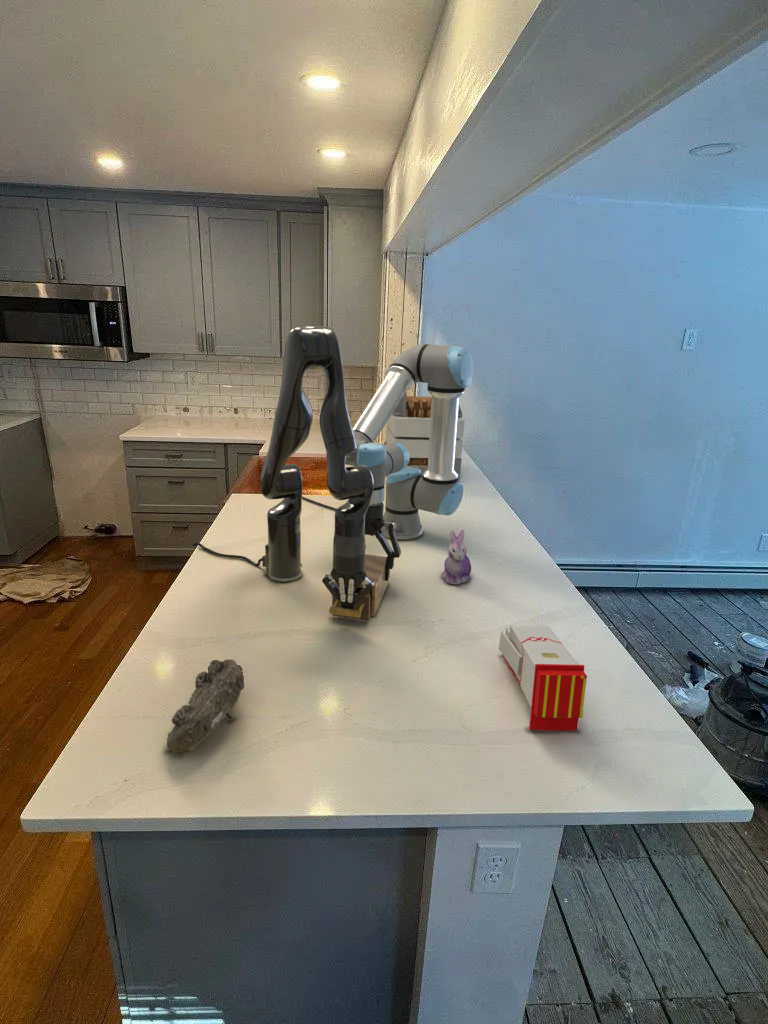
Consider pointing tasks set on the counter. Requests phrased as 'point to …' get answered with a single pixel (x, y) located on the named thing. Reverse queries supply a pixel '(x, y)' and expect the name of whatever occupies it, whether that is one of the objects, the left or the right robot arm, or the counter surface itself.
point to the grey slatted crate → (418, 430)
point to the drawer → (359, 610)
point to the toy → (545, 676)
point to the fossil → (206, 705)
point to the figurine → (457, 560)
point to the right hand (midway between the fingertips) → (367, 576)
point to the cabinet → (375, 579)
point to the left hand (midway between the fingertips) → (347, 613)
